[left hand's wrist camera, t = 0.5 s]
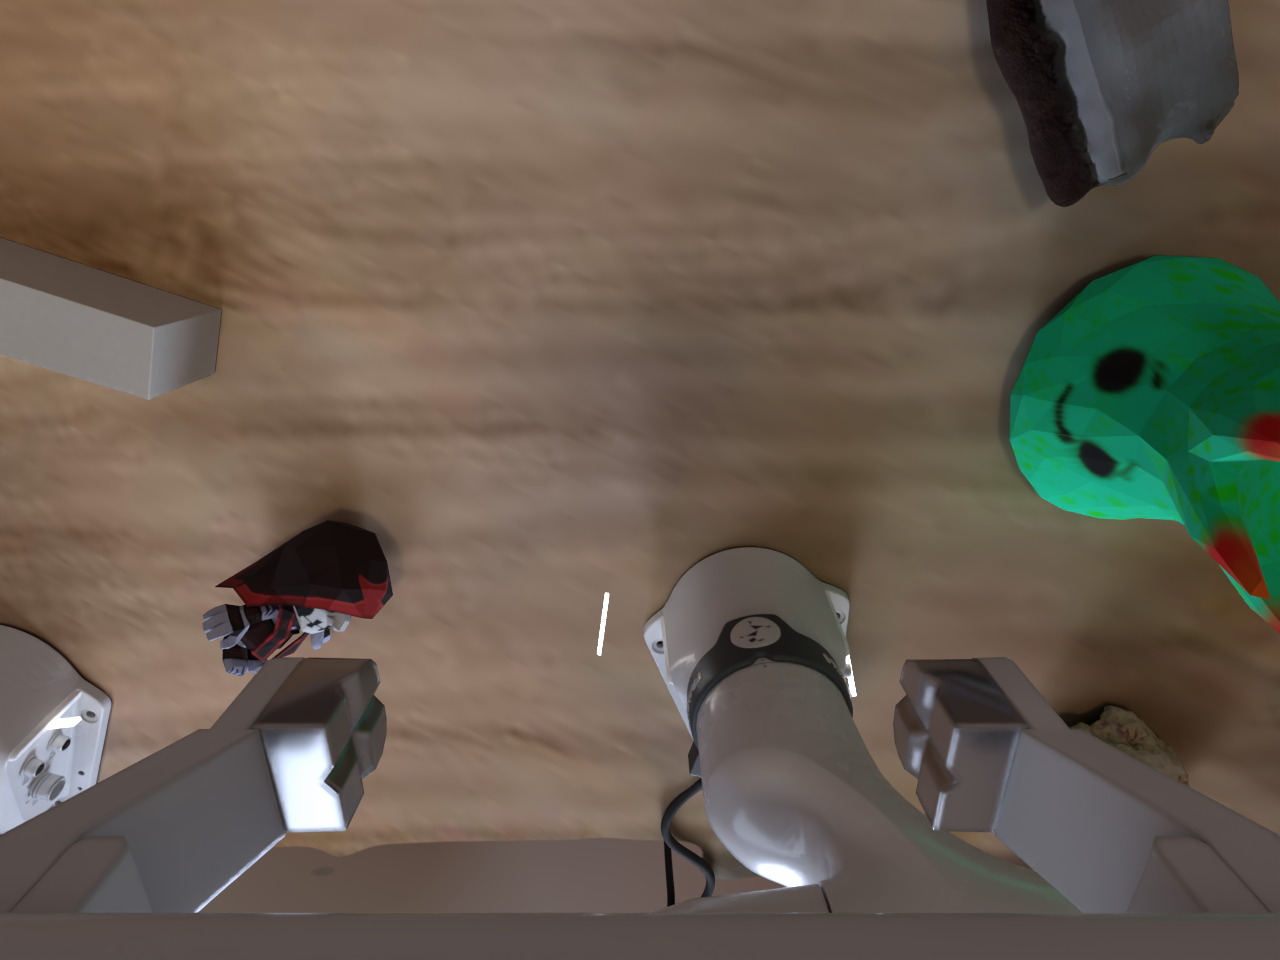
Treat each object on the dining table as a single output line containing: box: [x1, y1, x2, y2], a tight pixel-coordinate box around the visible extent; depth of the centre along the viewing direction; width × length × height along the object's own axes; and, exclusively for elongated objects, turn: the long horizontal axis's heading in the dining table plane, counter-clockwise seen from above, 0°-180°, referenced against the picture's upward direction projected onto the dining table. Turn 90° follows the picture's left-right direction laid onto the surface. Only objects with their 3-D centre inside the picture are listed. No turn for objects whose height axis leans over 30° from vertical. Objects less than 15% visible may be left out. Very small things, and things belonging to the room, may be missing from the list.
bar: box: [0, 238, 222, 400], centre depth 48 cm, size 24×5×8 cm, turn 71°
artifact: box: [1069, 705, 1189, 787], centre depth 66 cm, size 18×7×15 cm
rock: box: [987, 0, 1239, 207], centre depth 42 cm, size 18×11×8 cm, turn 29°
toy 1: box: [203, 520, 393, 676], centre depth 57 cm, size 12×9×15 cm
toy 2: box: [1010, 255, 1280, 633], centre depth 43 cm, size 20×20×25 cm
